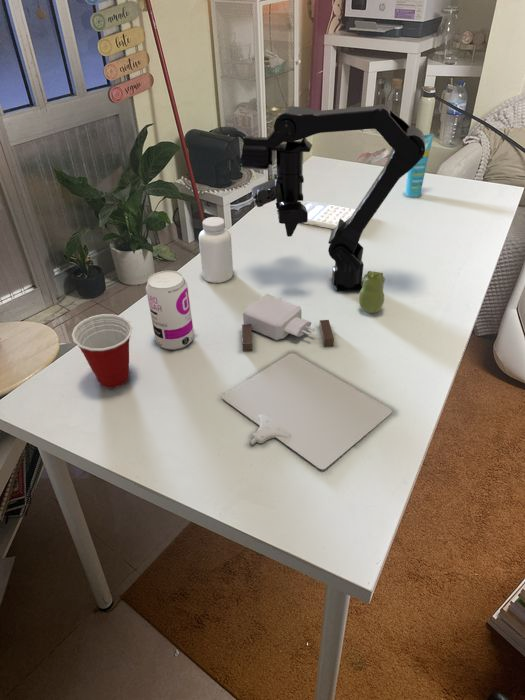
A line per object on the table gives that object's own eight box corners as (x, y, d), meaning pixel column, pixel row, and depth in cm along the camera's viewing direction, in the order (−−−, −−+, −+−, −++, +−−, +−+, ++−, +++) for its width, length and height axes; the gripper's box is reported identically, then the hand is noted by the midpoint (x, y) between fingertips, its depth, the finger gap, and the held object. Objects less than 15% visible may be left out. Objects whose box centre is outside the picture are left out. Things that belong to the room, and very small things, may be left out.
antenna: (204, 409, 97) (203, 405, 96) (291, 354, 110) (292, 350, 109) (305, 487, 82) (306, 482, 82) (393, 413, 95) (394, 408, 95)
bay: (328, 327, 116) (328, 319, 115) (333, 346, 111) (333, 338, 110) (242, 332, 116) (241, 324, 115) (242, 351, 110) (242, 343, 109)
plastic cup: (115, 404, 99) (101, 354, 91) (74, 385, 103) (58, 335, 96) (154, 372, 106) (144, 323, 99) (114, 355, 111) (102, 307, 103)
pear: (355, 314, 120) (359, 276, 114) (360, 302, 124) (364, 264, 118) (380, 319, 118) (385, 280, 112) (384, 306, 122) (389, 268, 116)
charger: (300, 352, 110) (243, 328, 117) (323, 331, 115) (268, 309, 123) (300, 333, 107) (242, 310, 114) (324, 313, 112) (268, 292, 120)
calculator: (349, 232, 154) (350, 226, 153) (288, 221, 162) (287, 215, 160) (365, 215, 163) (365, 209, 162) (306, 205, 171) (306, 199, 170)
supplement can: (200, 332, 116) (192, 272, 107) (183, 354, 110) (174, 292, 101) (167, 326, 119) (157, 266, 109) (149, 347, 112) (137, 286, 103)
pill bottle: (229, 284, 132) (225, 228, 123) (198, 282, 134) (192, 226, 125) (237, 269, 138) (233, 215, 129) (207, 267, 140) (201, 213, 131)
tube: (405, 199, 173) (414, 137, 161) (399, 193, 176) (407, 133, 165) (426, 196, 174) (436, 135, 162) (419, 191, 178) (429, 131, 166)
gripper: (251, 158, 124) (253, 221, 133) (254, 187, 109) (257, 255, 118) (298, 156, 124) (298, 219, 134) (308, 184, 109) (307, 253, 119)
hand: (289, 235), depth 126 cm, fingers closed
